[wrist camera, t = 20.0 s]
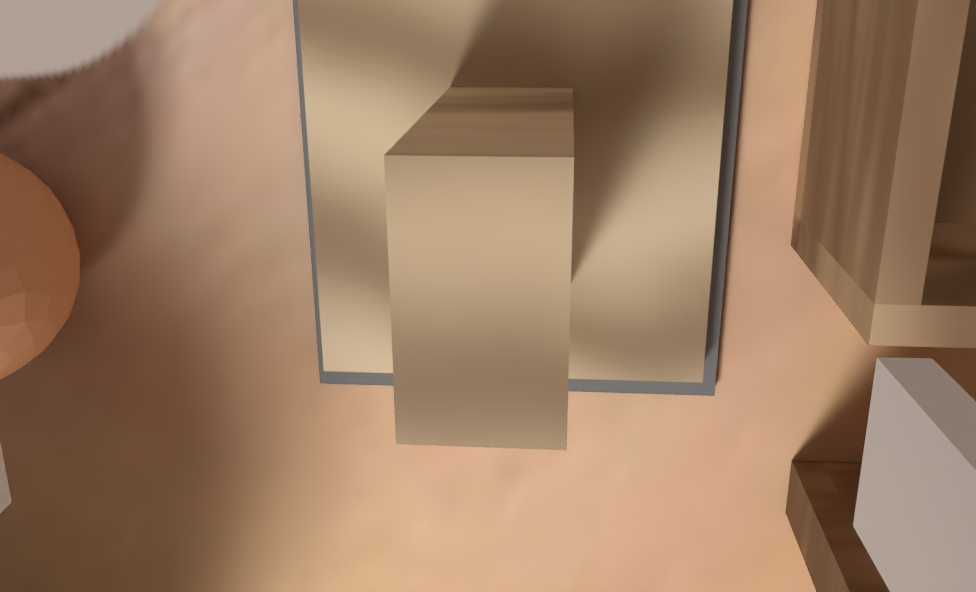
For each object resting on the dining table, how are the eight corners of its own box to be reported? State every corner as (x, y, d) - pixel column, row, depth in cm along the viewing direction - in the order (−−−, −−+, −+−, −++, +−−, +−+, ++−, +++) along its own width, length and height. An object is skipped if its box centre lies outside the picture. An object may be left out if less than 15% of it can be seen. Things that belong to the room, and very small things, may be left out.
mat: (323, 378, 32) (320, 383, 31) (268, -395, 24) (264, -401, 24) (712, 390, 31) (714, 395, 30) (780, -414, 23) (783, -419, 23)
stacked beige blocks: (283, -351, 24) (69, -584, 14) (755, -366, 23) (903, -628, 13) (331, 358, 31) (211, 557, 21) (698, 369, 30) (765, 583, 20)
